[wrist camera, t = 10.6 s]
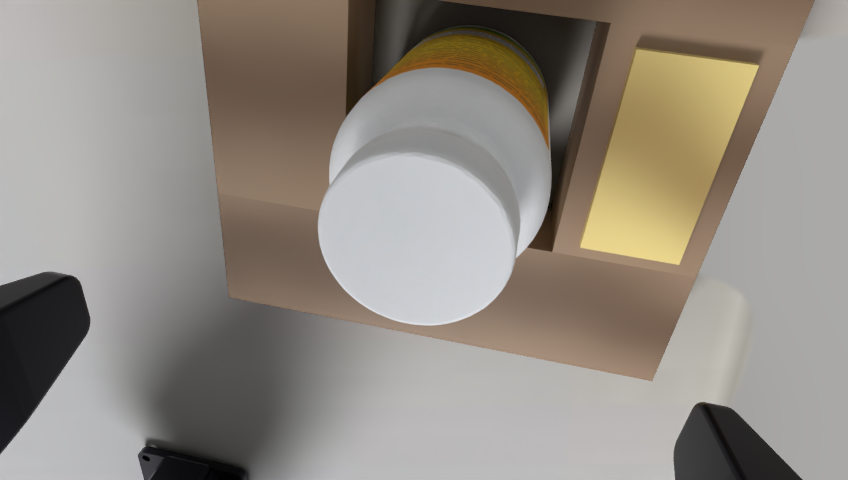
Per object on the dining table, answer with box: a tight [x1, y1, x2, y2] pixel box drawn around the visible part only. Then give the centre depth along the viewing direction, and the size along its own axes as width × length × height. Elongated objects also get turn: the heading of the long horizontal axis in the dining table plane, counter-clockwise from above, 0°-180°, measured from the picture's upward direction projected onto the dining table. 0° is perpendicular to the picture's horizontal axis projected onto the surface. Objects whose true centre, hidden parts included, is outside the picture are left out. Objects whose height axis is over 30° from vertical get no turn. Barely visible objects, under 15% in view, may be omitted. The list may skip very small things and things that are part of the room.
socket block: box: [197, 0, 815, 381], centre depth 17 cm, size 16×16×3 cm
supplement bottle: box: [318, 25, 552, 325], centre depth 15 cm, size 5×5×10 cm
